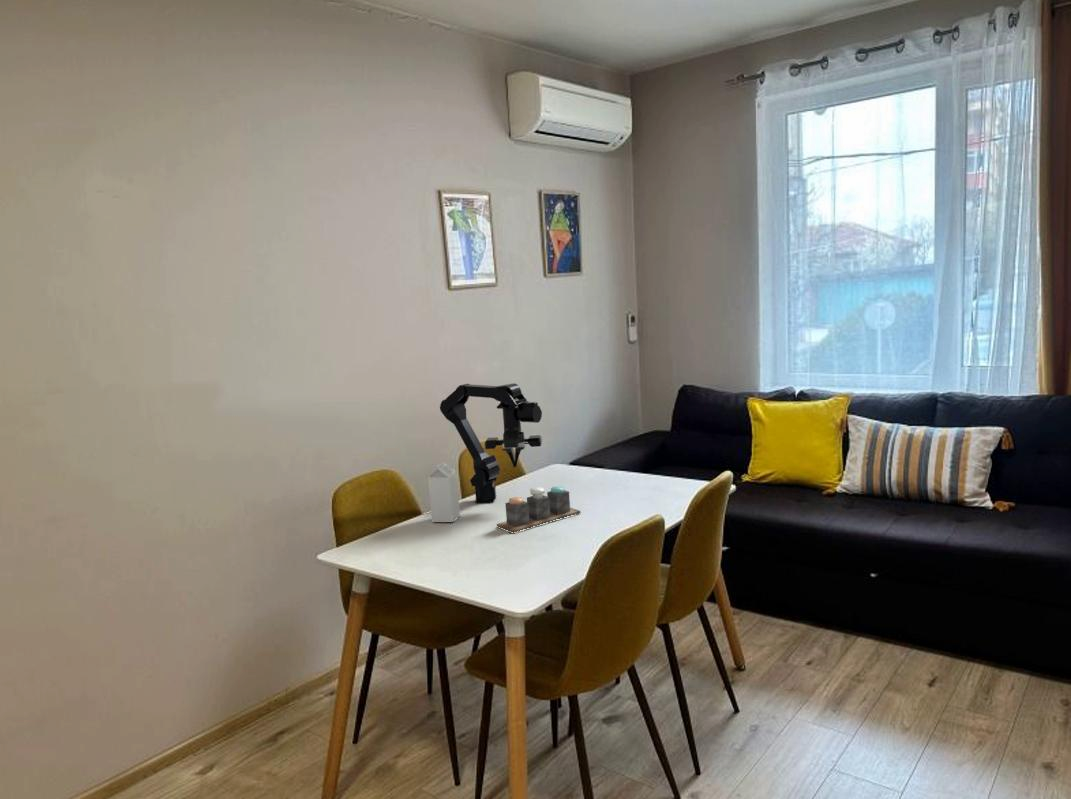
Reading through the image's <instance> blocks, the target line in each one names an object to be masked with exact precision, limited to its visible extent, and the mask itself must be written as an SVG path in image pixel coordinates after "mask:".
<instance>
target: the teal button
mask: <svg viewBox="0 0 1071 799" xmlns="http://www.w3.org/2000/svg"><path fill="white" fill-rule="evenodd" d="M550 491H551V493H553V494H561V493H564V492H565V491H566V489H565V487H564V486H561V485H560V486H559V485H557V486H552V487H550Z"/></svg>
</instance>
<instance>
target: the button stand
mask: <svg viewBox="0 0 1071 799" xmlns="http://www.w3.org/2000/svg"><path fill="white" fill-rule="evenodd" d="M546 495H547V496H546ZM546 495H544V494H543V498H540V499H534V498H533V495H530V496H528V497H526V501H524V503H523V504H520V505H510V504H509V501H508V502H505V516H506V521H502V522H498V523H496V527H497V526H498V527H500V528H503V529H505V530H508V531H511V532H513V533H514V532H517V531H520V530H523V529H527V528H531V527H533V526H537V525H540V524H543V523H546V522H550V521H553V520H556V519H560V518H564V517H567V516H571V515H575V514H578V515H580V514H581V510H579V509H575V508H573V507H571V500H570V491H568V490H565V492H564V493H561V494H553V493H551V490H550V491H546ZM579 513H580V514H579ZM575 516H576V515H575ZM498 527H497V528H498ZM500 528H499V529H500ZM503 529H502V530H503ZM531 529H532V528H531ZM505 530H504V531H505ZM514 534H515V533H514Z"/></svg>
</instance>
